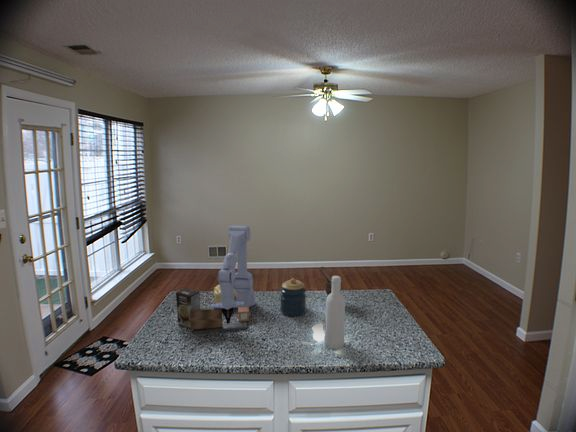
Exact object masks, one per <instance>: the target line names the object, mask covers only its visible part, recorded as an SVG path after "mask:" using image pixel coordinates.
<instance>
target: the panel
mask: <svg viewBox="0 0 576 432" xmlns="http://www.w3.org/2000/svg"><path fill="white" fill-rule="evenodd" d="M223 321H224V320H223V313H222V308H215V309H214V310H211V307H202V308H201V307H200V309H190V322H191V328H190V330H192V331H193V329H203V328H213V327H223V323H224V322H223Z"/></svg>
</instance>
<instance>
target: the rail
mask: <svg viewBox="0 0 576 432" xmlns="http://www.w3.org/2000/svg"><path fill="white" fill-rule="evenodd" d="M247 329H248V323H247V321H243V322H236V323H235V322H233V323H230V324H227V323H226V324H225V323H224V324H223V327H213V328H203V329H192V334H193V335H196V334H206V333H207V334H208V333H218V332H229V331H239V330H247Z"/></svg>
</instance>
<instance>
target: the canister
mask: <svg viewBox="0 0 576 432" xmlns="http://www.w3.org/2000/svg"><path fill="white" fill-rule="evenodd" d="M279 291H280V292H281V293H280V306H279V307H280V313H281V314H283V315H284V316H286V317H293V318H294V317H300V316H303V315H304V314H305V313H306V310H307V309H306V308H307V306H306V303H307V302H306V301H307V300H306V299H307V298H306V297H307V294H306V291H307V288H306V287H305V283H304V282H302V281H301V280H299V279H296V278H294V277H292V278H290V279H288V280H286V281H284V282H283V283H282V284H281V287H280V289H279Z"/></svg>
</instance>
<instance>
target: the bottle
mask: <svg viewBox="0 0 576 432" xmlns="http://www.w3.org/2000/svg"><path fill="white" fill-rule="evenodd" d="M331 278H332V280H331V281H332V292H331V293H330V294H329V295H327V298H326V300H325V333H324V334H325V337H324V341H325V344H324V345H325V347H327V348H328V349H331V350H341V349H342V348H344V346H345V325H346V324H345V323H346V321H345V319H346V300H345V296H344V295H343V294H342V292H341V293H340V290H341V291H342V288H341V281H342V277H341V276H339V275H332V276H331Z"/></svg>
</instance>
